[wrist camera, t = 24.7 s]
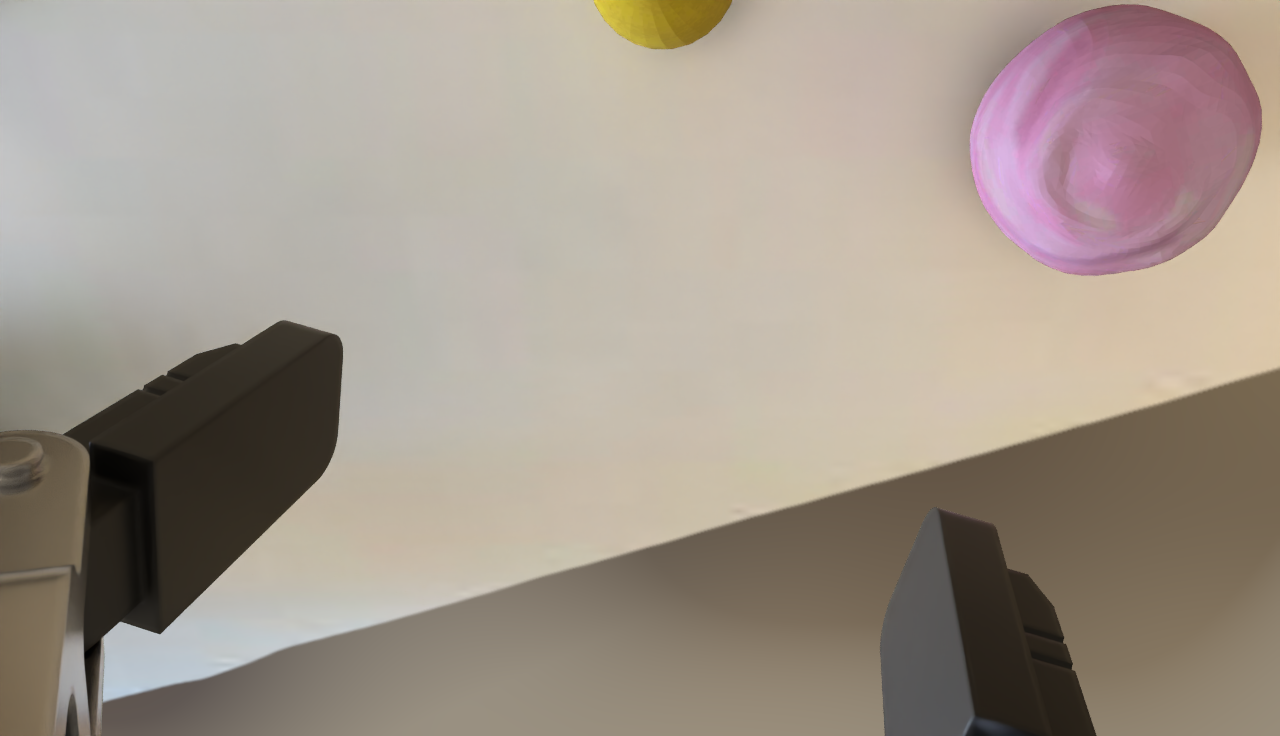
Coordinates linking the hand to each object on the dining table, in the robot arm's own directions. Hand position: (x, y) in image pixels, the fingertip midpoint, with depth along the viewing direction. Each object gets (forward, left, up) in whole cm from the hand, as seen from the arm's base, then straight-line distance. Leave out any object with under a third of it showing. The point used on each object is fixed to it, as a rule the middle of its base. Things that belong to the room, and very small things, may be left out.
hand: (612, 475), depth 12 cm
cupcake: (+3, +11, -30) cm, 33 cm away
